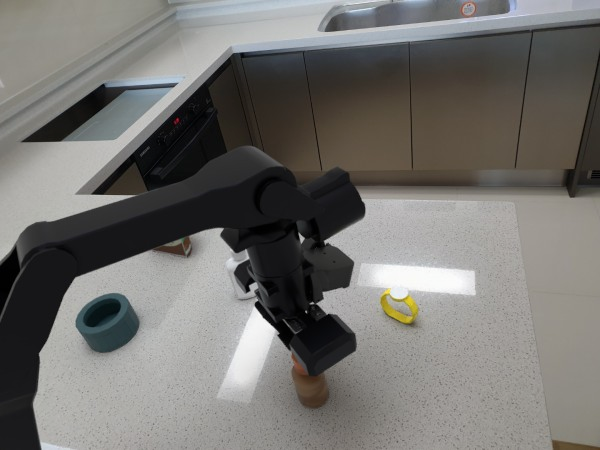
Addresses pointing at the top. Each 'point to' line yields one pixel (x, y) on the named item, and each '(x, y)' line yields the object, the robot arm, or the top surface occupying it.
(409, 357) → the top surface
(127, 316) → the teal hollow cylinder
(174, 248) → the cake slice
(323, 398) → the stand
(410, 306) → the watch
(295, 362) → the brown peg with discs
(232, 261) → the eye dropper bottle
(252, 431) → the top surface
